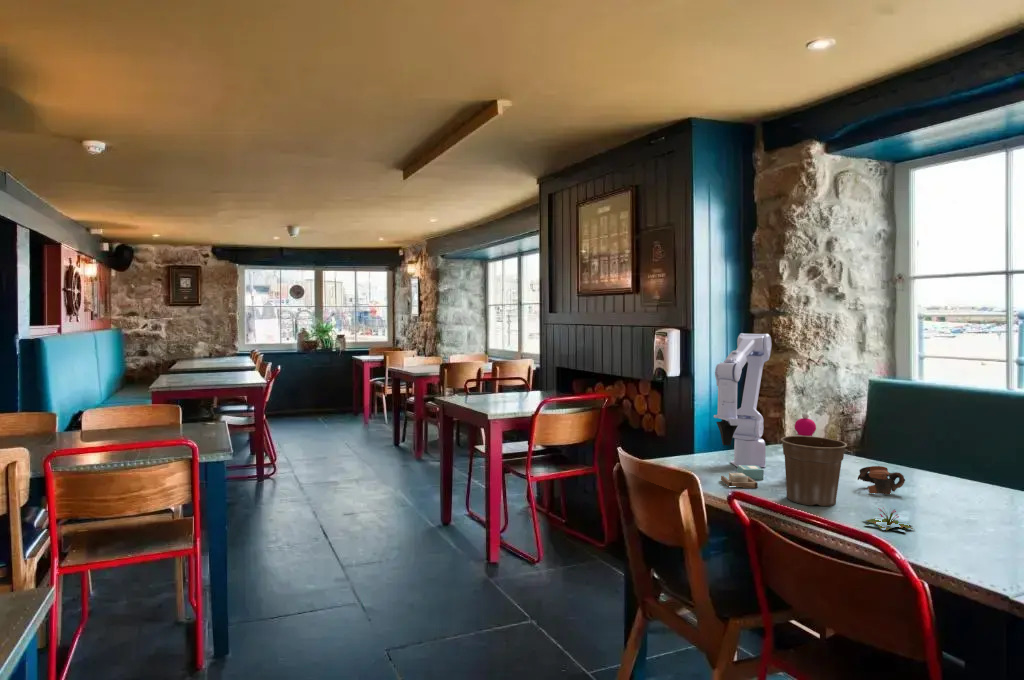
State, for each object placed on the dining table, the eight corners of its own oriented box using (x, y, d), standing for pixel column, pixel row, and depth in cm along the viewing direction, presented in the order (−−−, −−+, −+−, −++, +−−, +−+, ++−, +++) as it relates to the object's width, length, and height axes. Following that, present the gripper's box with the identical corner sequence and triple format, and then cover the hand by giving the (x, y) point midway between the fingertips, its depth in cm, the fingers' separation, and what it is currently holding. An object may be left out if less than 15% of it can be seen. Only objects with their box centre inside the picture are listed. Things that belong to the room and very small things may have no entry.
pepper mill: (791, 480, 208) (792, 414, 207) (791, 474, 215) (792, 411, 214) (817, 482, 205) (819, 415, 205) (816, 477, 212) (818, 412, 211)
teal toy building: (756, 475, 214) (756, 465, 214) (763, 479, 208) (763, 469, 208) (737, 474, 214) (737, 464, 214) (743, 479, 208) (743, 469, 208)
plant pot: (854, 501, 185) (856, 441, 185) (831, 513, 174) (832, 449, 173) (794, 489, 197) (796, 433, 196) (769, 500, 186) (770, 440, 185)
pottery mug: (857, 494, 194) (852, 466, 198) (865, 503, 200) (860, 475, 204) (905, 490, 187) (899, 460, 191) (911, 499, 194) (906, 470, 197)
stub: (742, 483, 205) (742, 472, 205) (748, 487, 200) (748, 476, 200) (728, 483, 205) (728, 472, 205) (734, 487, 200) (734, 476, 200)
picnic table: (748, 481, 206) (748, 476, 206) (757, 488, 198) (757, 483, 198) (720, 480, 207) (721, 475, 207) (729, 487, 198) (729, 482, 198)
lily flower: (912, 540, 155) (912, 519, 155) (854, 529, 163) (854, 510, 162) (921, 527, 164) (922, 508, 164) (866, 517, 172) (867, 499, 172)
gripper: (708, 398, 221) (707, 440, 221) (721, 404, 206) (720, 449, 207) (730, 398, 221) (729, 440, 221) (744, 404, 206) (744, 449, 207)
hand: (726, 444), depth 214 cm, fingers closed
